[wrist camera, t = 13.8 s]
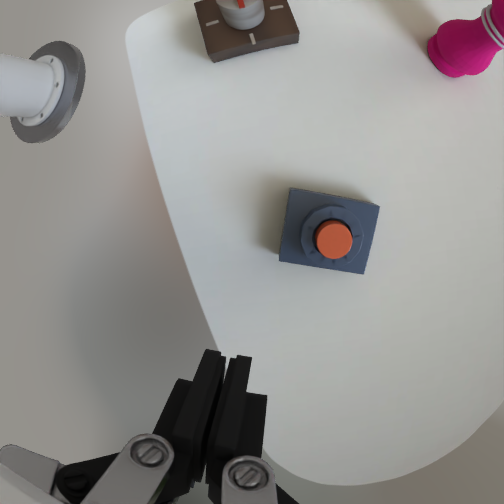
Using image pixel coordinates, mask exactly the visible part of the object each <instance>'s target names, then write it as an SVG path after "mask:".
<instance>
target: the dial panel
mask: <svg viewBox="0 0 504 504" xmlns="http://www.w3.org/2000/svg"><path fill="white" fill-rule="evenodd" d="M263 4H264V11H265V16H264V19H263V20H262V22H261V23H260V24H259V25H257V26H255V27H253V28H251V29H245V30H240V29H235V28H233V27H231V26H229V25H228V24H227V23H226V21H225V19H224V17H223V15H222V13H221V11H220V8H219V6H218V4H217V2H216V0H202V1H199V2H196V3H194V5H195V9H196V13H197V16H198V20H199V24H200V27H201V31H202V34H203V38H204V42H205V45H206V49H207V53H208V55H209V57H210V58H211V59H212V60H213V62H214V63H215V62H219V61H222V60H225V59H229V58H232V57H236V56H240V55H243V54H247V53H251V52H255V51H260V50H264V49H269V48H273V47H278V46H283V45H289V44H294V43H298V41H299V30H298V27H297V25H296V22H295V19H294V17H293V14H292V12H291V9H290V7H289V4H288V2H287V0H263Z"/></svg>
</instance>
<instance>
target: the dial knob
mask: <svg viewBox="0 0 504 504" xmlns="http://www.w3.org/2000/svg"><path fill="white" fill-rule="evenodd" d="M216 2H217V4H218V6H219V8H220V11H221V13H222V15H223V17H224V19H225V21H226V23H227V24H228V25H229V26H231V27H233V28H235V29H240V30H245V29H251V28H253V27H255V26H257V25H259V24H260V23H261V22H262V20H263V19H264V16H265V11H264V4H263V0H216Z"/></svg>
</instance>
